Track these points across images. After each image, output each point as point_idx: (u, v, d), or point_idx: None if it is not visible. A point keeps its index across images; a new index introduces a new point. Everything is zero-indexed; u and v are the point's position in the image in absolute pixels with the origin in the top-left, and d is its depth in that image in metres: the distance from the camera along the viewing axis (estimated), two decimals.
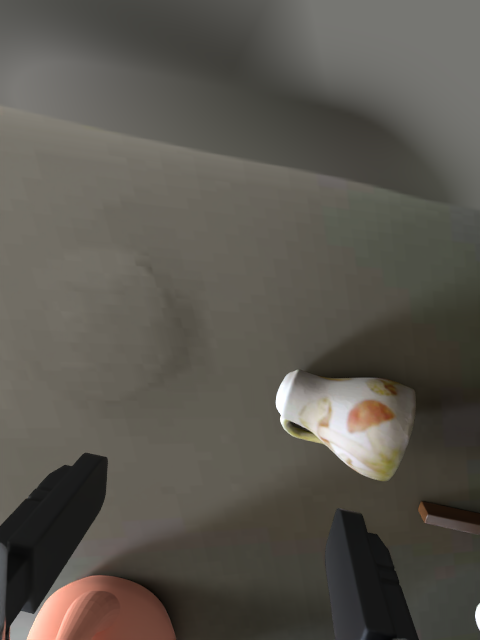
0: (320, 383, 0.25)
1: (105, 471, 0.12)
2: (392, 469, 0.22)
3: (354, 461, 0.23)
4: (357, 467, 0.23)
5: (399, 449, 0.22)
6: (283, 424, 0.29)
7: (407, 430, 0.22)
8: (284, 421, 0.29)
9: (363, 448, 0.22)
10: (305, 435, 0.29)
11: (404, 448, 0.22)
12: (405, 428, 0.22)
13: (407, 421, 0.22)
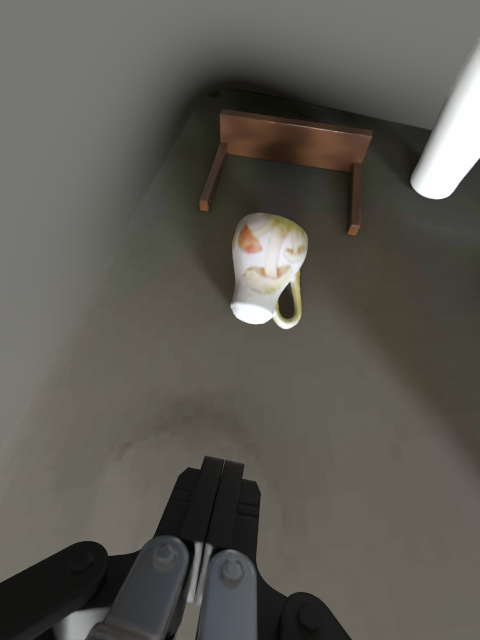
0: (236, 284, 0.31)
1: (221, 473, 0.13)
2: (284, 219, 0.30)
3: (286, 245, 0.29)
4: (291, 244, 0.30)
5: (266, 216, 0.30)
6: (288, 324, 0.32)
7: (253, 215, 0.30)
8: (284, 322, 0.32)
9: (271, 238, 0.29)
10: (296, 306, 0.33)
11: (265, 213, 0.30)
12: (252, 216, 0.30)
13: (248, 217, 0.31)
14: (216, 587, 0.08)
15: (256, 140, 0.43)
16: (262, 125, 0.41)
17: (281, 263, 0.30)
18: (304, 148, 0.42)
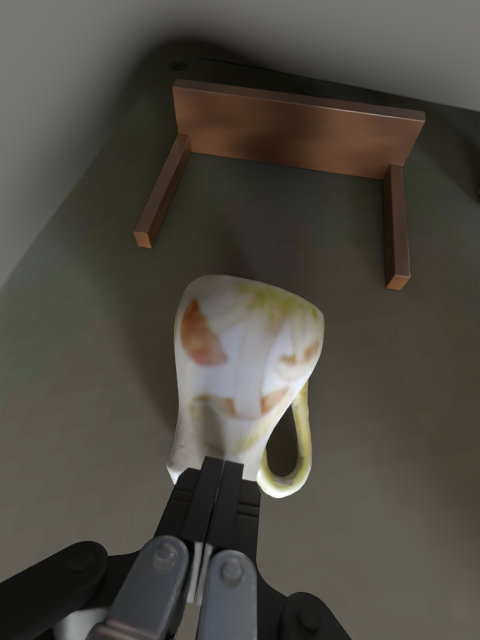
0: (178, 420, 0.15)
1: (221, 473, 0.13)
2: (276, 291, 0.14)
3: (279, 349, 0.14)
4: (292, 345, 0.14)
5: (237, 284, 0.14)
6: (286, 491, 0.16)
7: (211, 279, 0.14)
8: (278, 488, 0.16)
9: (246, 335, 0.13)
10: (301, 449, 0.17)
11: (236, 278, 0.14)
12: (209, 282, 0.14)
13: (201, 282, 0.15)
14: (216, 587, 0.08)
15: (234, 129, 0.27)
16: (242, 104, 0.25)
17: (270, 387, 0.14)
18: (310, 142, 0.26)
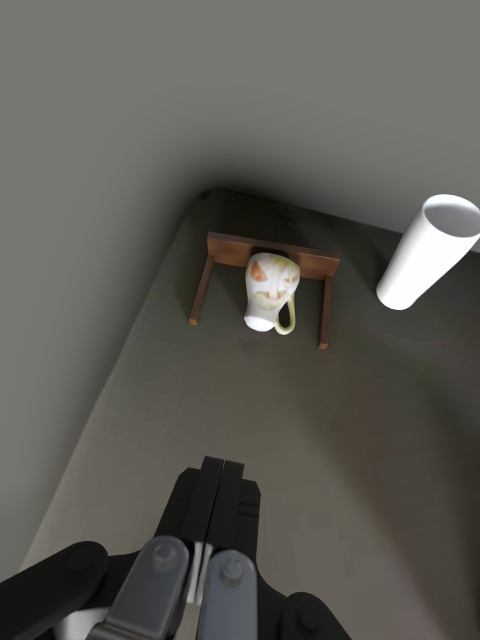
0: (248, 303, 0.44)
1: (221, 473, 0.13)
2: (283, 258, 0.42)
3: (284, 276, 0.42)
4: (288, 275, 0.42)
5: (270, 255, 0.42)
6: (285, 331, 0.45)
7: (261, 254, 0.43)
8: (282, 330, 0.44)
9: (273, 271, 0.42)
10: (291, 318, 0.45)
11: (270, 253, 0.43)
12: (260, 255, 0.43)
13: (257, 255, 0.43)
14: (216, 587, 0.08)
15: (240, 255, 0.48)
16: (244, 246, 0.46)
17: (280, 289, 0.42)
18: None
